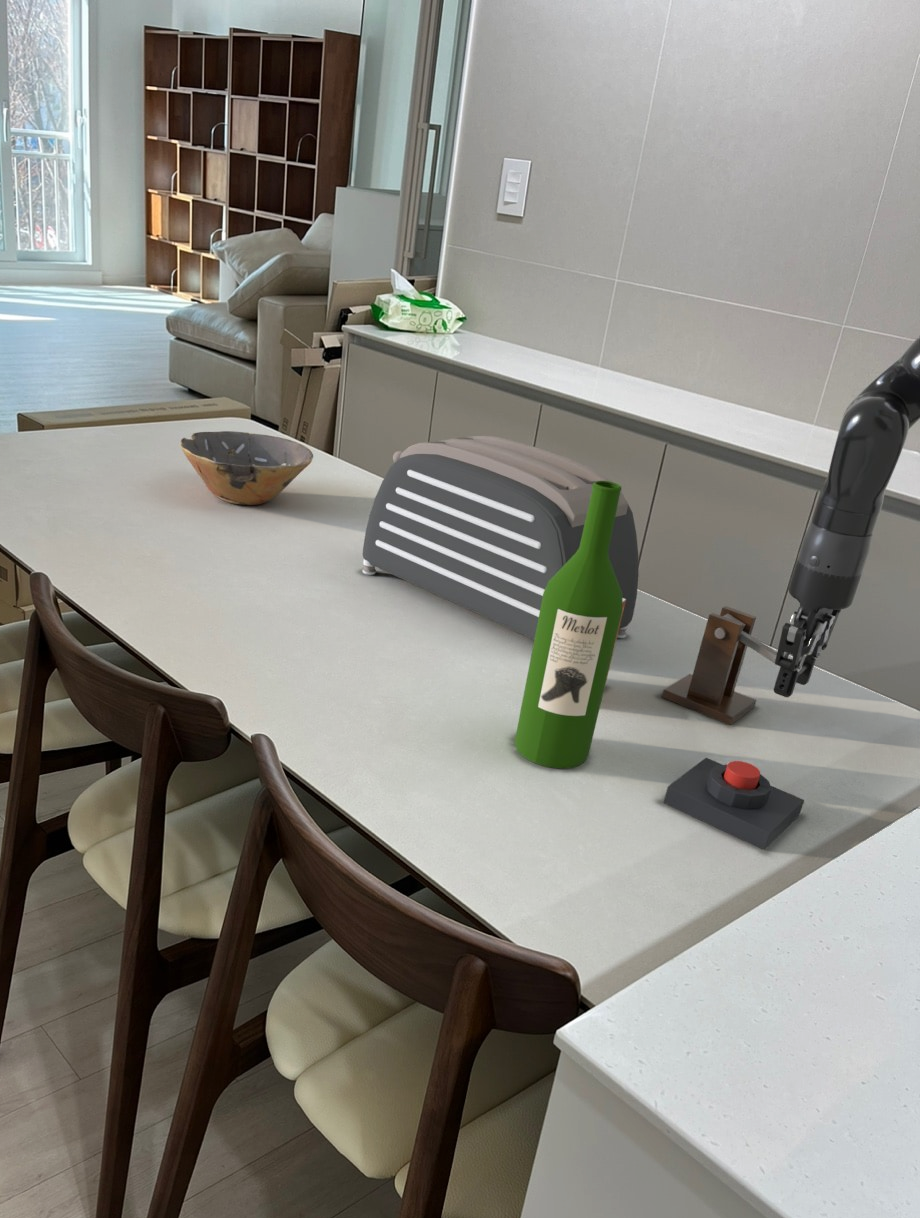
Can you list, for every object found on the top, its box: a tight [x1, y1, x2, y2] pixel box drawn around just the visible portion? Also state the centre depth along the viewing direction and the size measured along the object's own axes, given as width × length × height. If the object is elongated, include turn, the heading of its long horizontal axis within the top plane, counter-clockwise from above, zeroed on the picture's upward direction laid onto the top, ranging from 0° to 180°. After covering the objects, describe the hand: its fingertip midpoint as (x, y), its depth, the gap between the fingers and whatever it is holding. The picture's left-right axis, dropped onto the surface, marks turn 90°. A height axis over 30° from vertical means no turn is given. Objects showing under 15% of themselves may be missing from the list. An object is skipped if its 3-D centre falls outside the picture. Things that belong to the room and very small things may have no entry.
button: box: [724, 760, 762, 790], centre depth 117 cm, size 4×4×2 cm
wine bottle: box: [514, 481, 623, 769], centre depth 119 cm, size 9×9×32 cm
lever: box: [723, 614, 808, 676], centre depth 137 cm, size 12×5×2 cm, turn 50°
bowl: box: [179, 430, 314, 506], centre depth 199 cm, size 25×25×10 cm
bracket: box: [661, 605, 757, 726], centre depth 141 cm, size 10×8×13 cm
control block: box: [663, 757, 805, 850], centre depth 118 cm, size 12×10×4 cm
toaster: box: [362, 435, 640, 640], centre depth 163 cm, size 19×45×24 cm, turn 44°
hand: (790, 687), depth 136 cm, fingers closed on lever, 5 cm apart
